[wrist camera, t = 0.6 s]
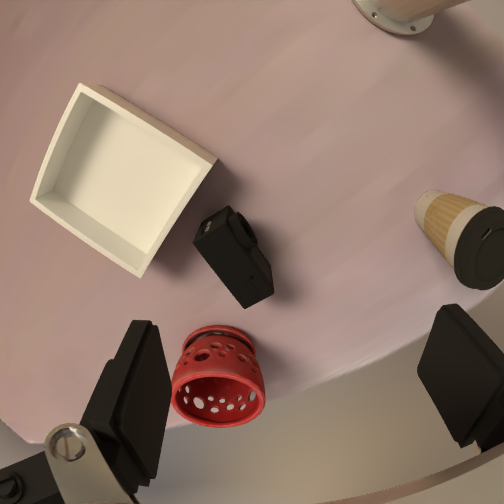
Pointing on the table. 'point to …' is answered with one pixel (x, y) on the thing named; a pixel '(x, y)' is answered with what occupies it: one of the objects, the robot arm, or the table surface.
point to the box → (118, 176)
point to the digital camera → (235, 256)
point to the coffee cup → (465, 236)
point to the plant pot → (218, 378)
